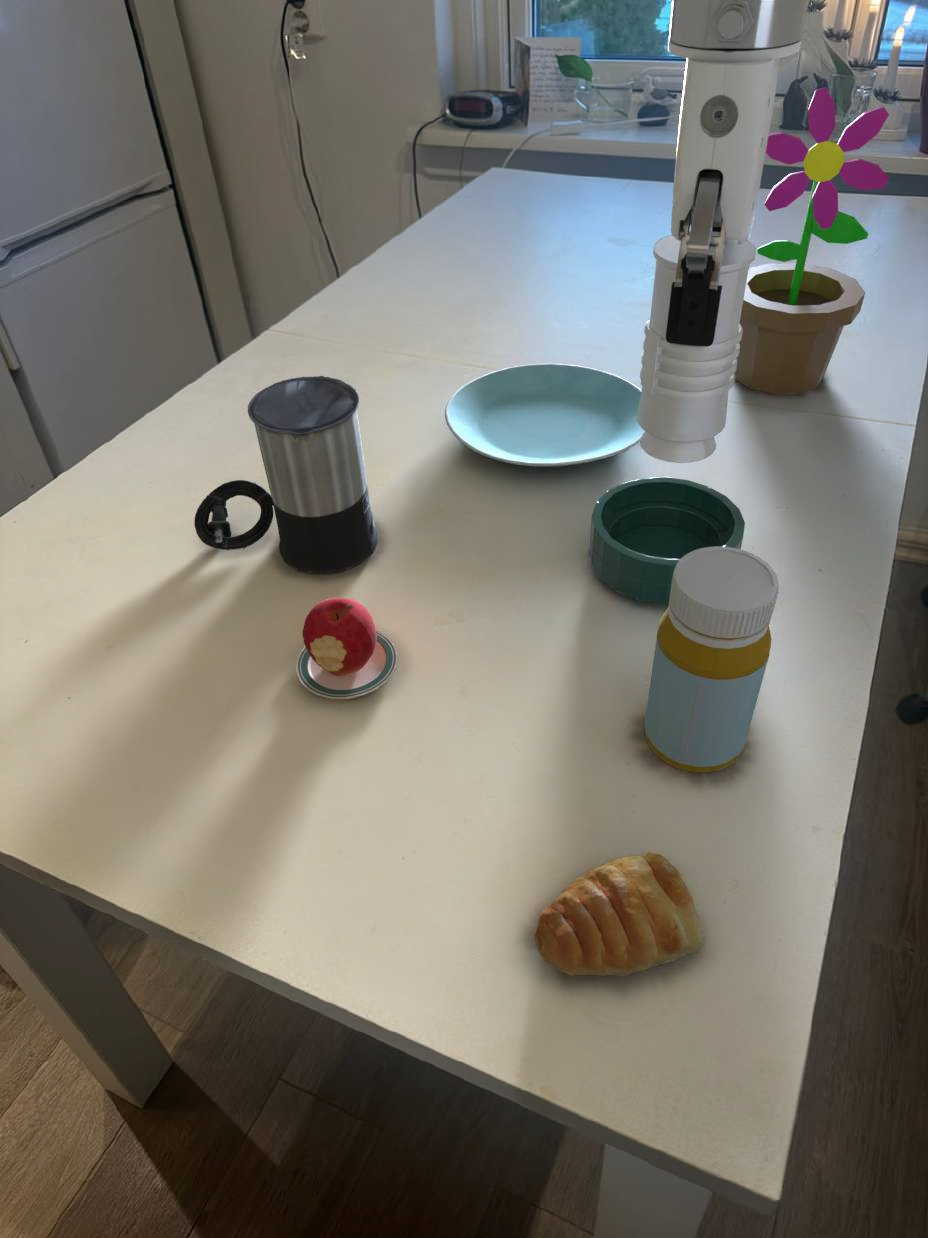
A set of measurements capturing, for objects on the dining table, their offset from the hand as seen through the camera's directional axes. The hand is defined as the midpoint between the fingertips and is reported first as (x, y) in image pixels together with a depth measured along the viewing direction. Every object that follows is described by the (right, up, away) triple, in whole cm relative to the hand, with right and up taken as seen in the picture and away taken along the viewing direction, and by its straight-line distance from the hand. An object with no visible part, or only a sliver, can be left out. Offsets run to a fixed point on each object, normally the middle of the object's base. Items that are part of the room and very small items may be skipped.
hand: (695, 319), depth 62 cm
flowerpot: (+20, +7, +40) cm, 46 cm away
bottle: (0, -30, 0) cm, 30 cm away
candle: (0, -8, +7) cm, 10 cm away
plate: (-7, -1, +33) cm, 34 cm away
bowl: (+1, -17, +15) cm, 22 cm away
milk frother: (-33, -14, +20) cm, 41 cm away
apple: (-26, -25, +7) cm, 37 cm away
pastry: (-7, -40, -10) cm, 42 cm away
